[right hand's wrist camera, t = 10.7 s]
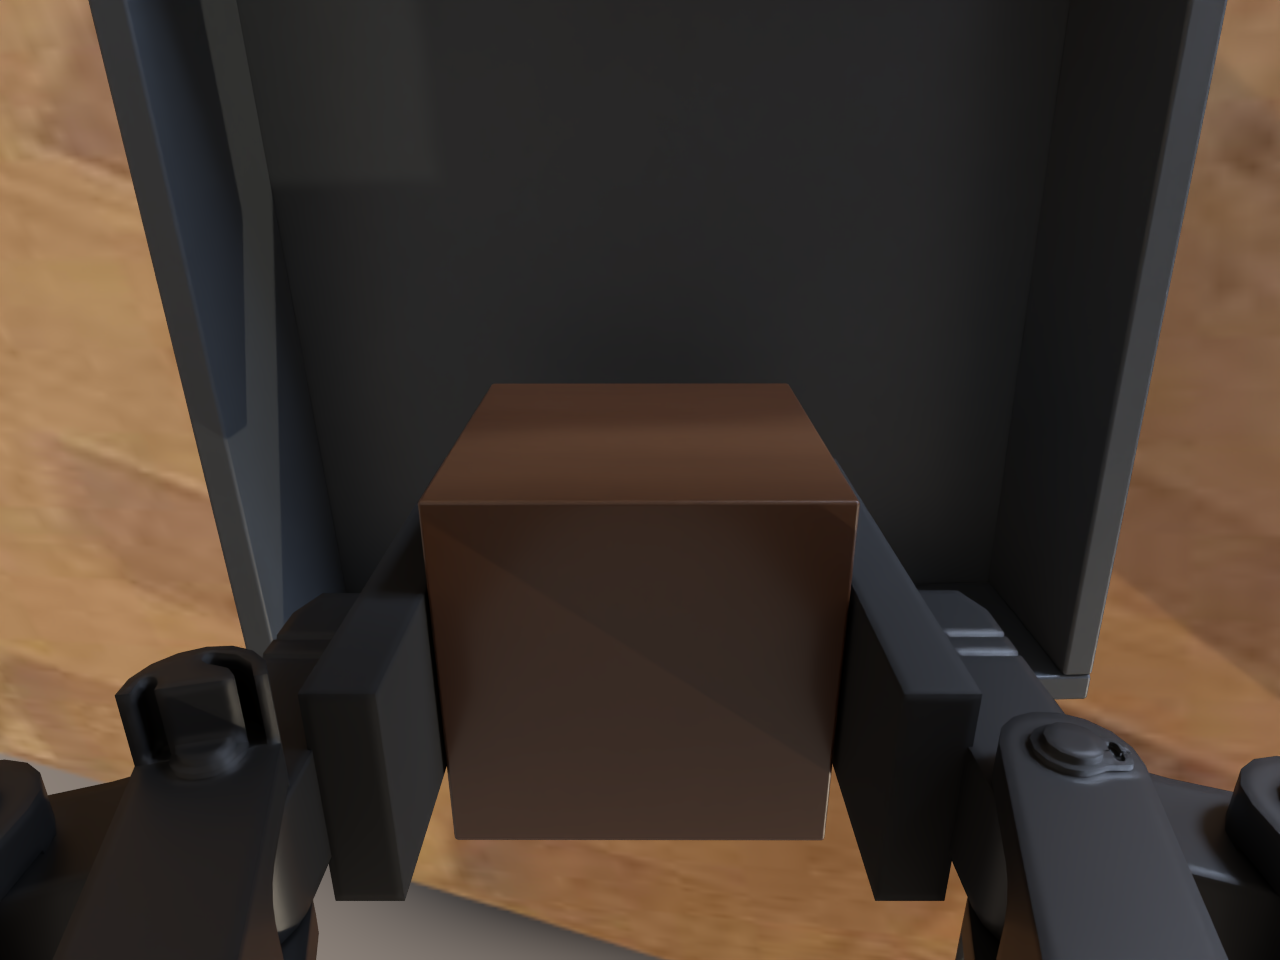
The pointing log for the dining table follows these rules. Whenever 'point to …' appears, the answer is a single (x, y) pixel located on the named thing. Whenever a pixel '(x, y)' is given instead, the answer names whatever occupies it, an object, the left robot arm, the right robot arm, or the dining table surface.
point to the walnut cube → (639, 613)
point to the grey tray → (672, 254)
